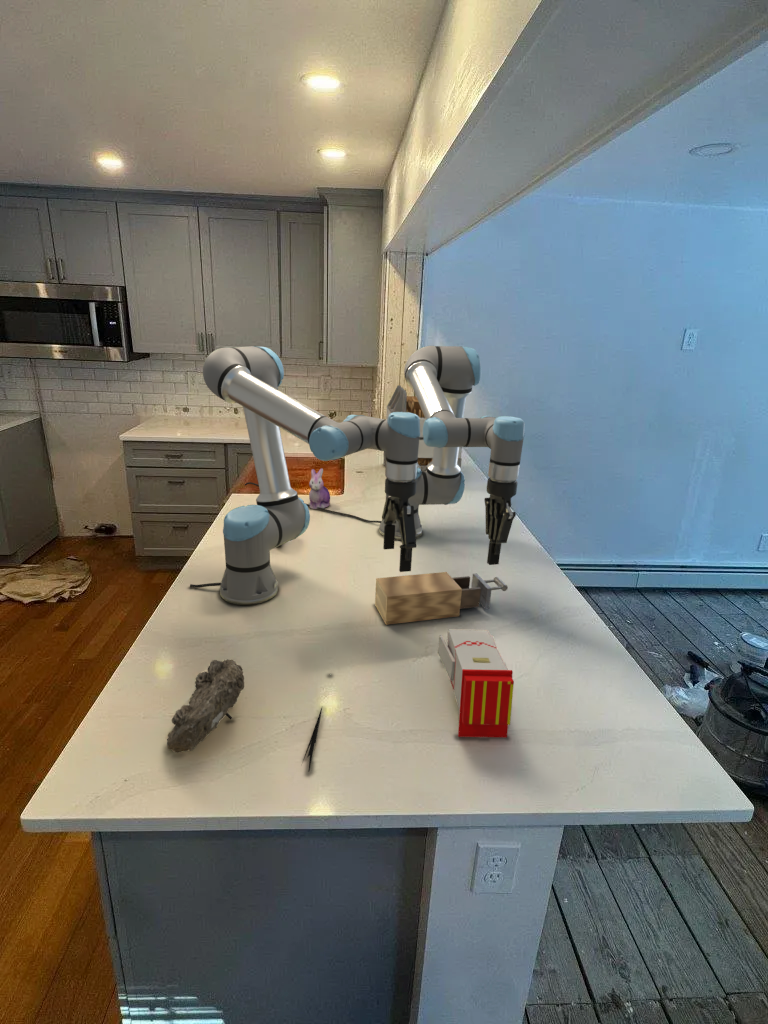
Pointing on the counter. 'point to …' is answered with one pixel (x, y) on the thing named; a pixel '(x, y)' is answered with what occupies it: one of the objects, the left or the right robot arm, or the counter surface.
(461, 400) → the right robot arm
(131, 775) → the counter surface
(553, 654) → the counter surface
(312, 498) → the figurine
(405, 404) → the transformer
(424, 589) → the wooden block
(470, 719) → the toy
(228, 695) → the fossil
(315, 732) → the feather
